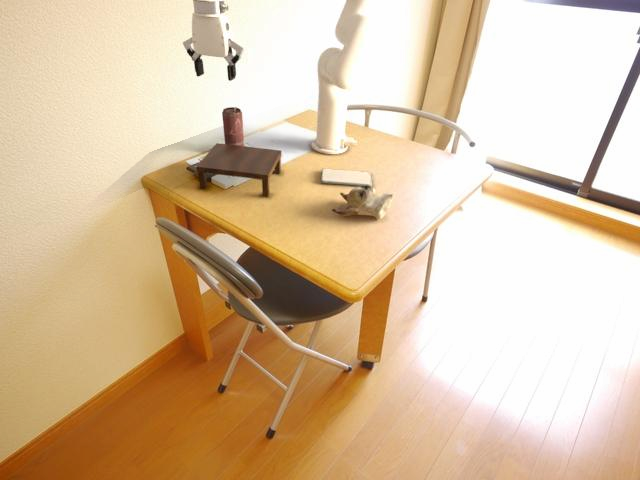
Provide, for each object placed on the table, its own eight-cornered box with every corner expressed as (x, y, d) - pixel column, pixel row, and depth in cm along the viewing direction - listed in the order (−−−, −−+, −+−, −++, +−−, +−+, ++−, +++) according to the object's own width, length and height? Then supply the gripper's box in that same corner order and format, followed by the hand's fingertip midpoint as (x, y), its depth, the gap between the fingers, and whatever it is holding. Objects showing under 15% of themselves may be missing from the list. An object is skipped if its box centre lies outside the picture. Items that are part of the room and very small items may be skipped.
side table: (281, 171, 125) (281, 150, 121) (268, 197, 112) (268, 175, 108) (218, 164, 127) (216, 143, 122) (199, 189, 114) (195, 166, 110)
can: (246, 148, 137) (244, 107, 128) (241, 156, 132) (238, 114, 123) (228, 146, 137) (225, 105, 129) (223, 154, 132) (219, 112, 124)
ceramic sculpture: (391, 199, 97) (330, 191, 101) (387, 229, 102) (330, 220, 106) (397, 180, 106) (341, 172, 109) (393, 208, 111) (340, 200, 114)
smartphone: (372, 184, 119) (321, 180, 119) (371, 187, 120) (321, 183, 120) (370, 171, 126) (322, 167, 126) (369, 174, 126) (321, 170, 126)
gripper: (246, 9, 105) (249, 77, 116) (186, 3, 109) (194, 70, 119) (233, 13, 100) (238, 84, 110) (170, 6, 103) (181, 77, 113)
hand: (216, 77), depth 114 cm, fingers open, 9 cm apart
